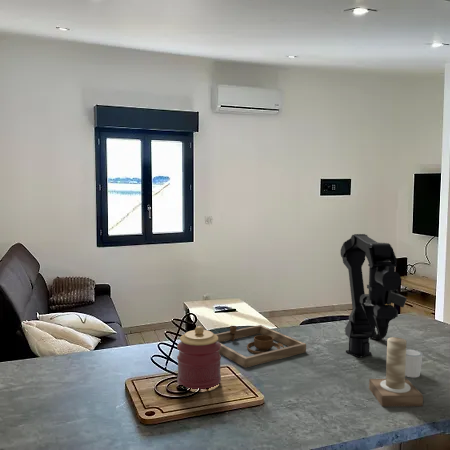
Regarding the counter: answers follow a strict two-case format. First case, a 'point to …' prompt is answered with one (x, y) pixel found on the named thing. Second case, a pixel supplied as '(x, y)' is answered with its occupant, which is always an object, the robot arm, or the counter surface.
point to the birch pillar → (396, 363)
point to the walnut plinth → (395, 394)
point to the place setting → (259, 342)
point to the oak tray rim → (293, 349)
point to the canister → (199, 359)
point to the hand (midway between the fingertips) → (376, 331)
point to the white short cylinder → (413, 363)
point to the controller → (377, 336)
